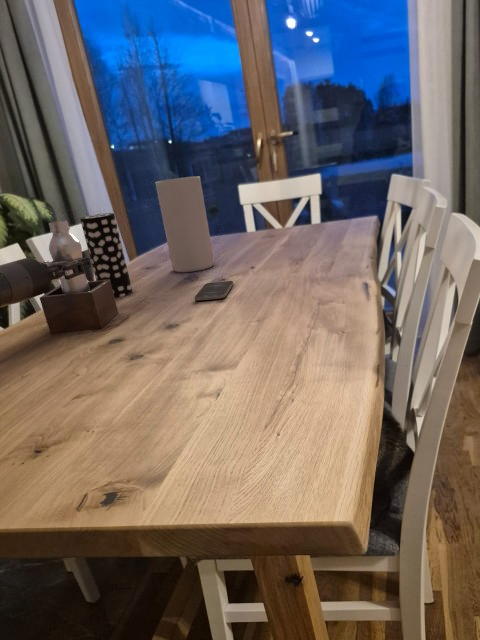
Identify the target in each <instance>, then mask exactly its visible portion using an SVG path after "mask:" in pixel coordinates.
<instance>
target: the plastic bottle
mask: <svg viewBox="0 0 480 640" xmlns="http://www.w3.org/2000/svg"><path fill="white" fill-rule="evenodd" d="M48 226H49V232H50V233H52V236H51V238H50V241H49V244H48V251H49V255H50V257H51V259H52V261H54V262H59V261H67V262H71V261H74V260H79V259H82V258H84V257H83V250H82V244H81V242H80V241H79V239H78V238H77V237H76V236H74V235H73V234H72V233H71V232H70V230H71V227H70V226H69V221H68V220H66V219H65V220H57V221H51V222H48ZM59 266H60V267H61V269H62V267H63V265H62V264H61V265H59ZM62 270H63V269H62ZM59 281H60V285H61V287H62V293H63V294H71V293H81V292H89V291H90V287H89V284H88V282H89V281H88V279H87V276H86V272H85V273H84V274H81V275H79V276H76V277H74V278H71V279H69V280H67V279H61V280H59Z"/></svg>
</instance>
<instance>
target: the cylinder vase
mask: <svg viewBox="0 0 480 640" xmlns="http://www.w3.org/2000/svg"><path fill="white" fill-rule="evenodd" d="M154 183H155V188H156V189H155V190H156V193H157V198H158V204H159V208H160V213H161V219H162V222H163V228H164V232H165V236H166V243H167V249H168V253H169V256H170V257H169V258H170V263H171V268H172V270H173V271H174V272H176V273H192V272H200V271H204V270H207V269H210V268H212V267H213V266H214V265H215V258H214V251H213V246H212V239H211V235H210V229H209V221H208V218H207V210H206V205H205V197H204V192H203V187H202V181H201V176H199V175H198V176H196V175H195V176H186V177H177V178H169V179H164V180H159V181H155V182H154Z"/></svg>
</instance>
